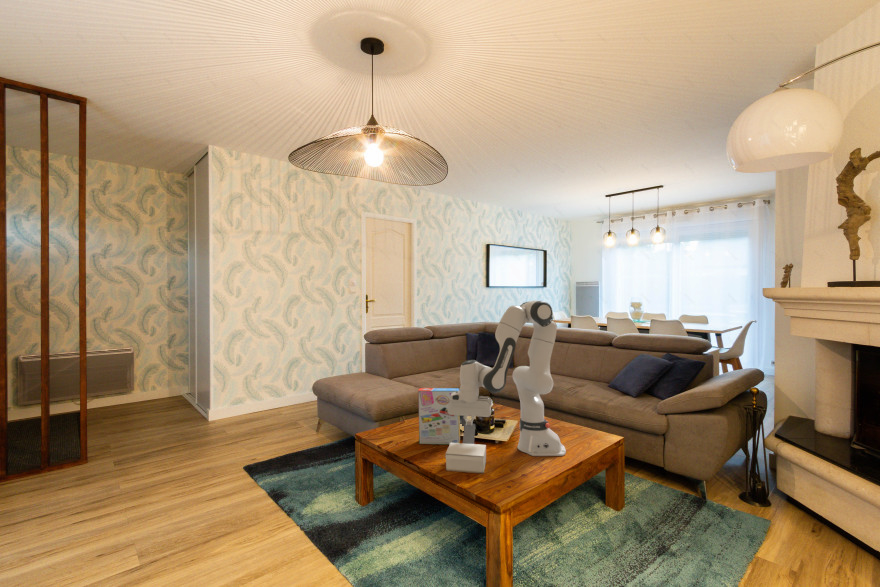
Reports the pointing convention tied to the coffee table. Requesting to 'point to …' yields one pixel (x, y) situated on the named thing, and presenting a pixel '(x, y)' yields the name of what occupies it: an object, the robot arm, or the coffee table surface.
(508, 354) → the robot arm
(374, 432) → the coffee table surface
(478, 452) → the lid
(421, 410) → the game box
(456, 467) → the mailer box
